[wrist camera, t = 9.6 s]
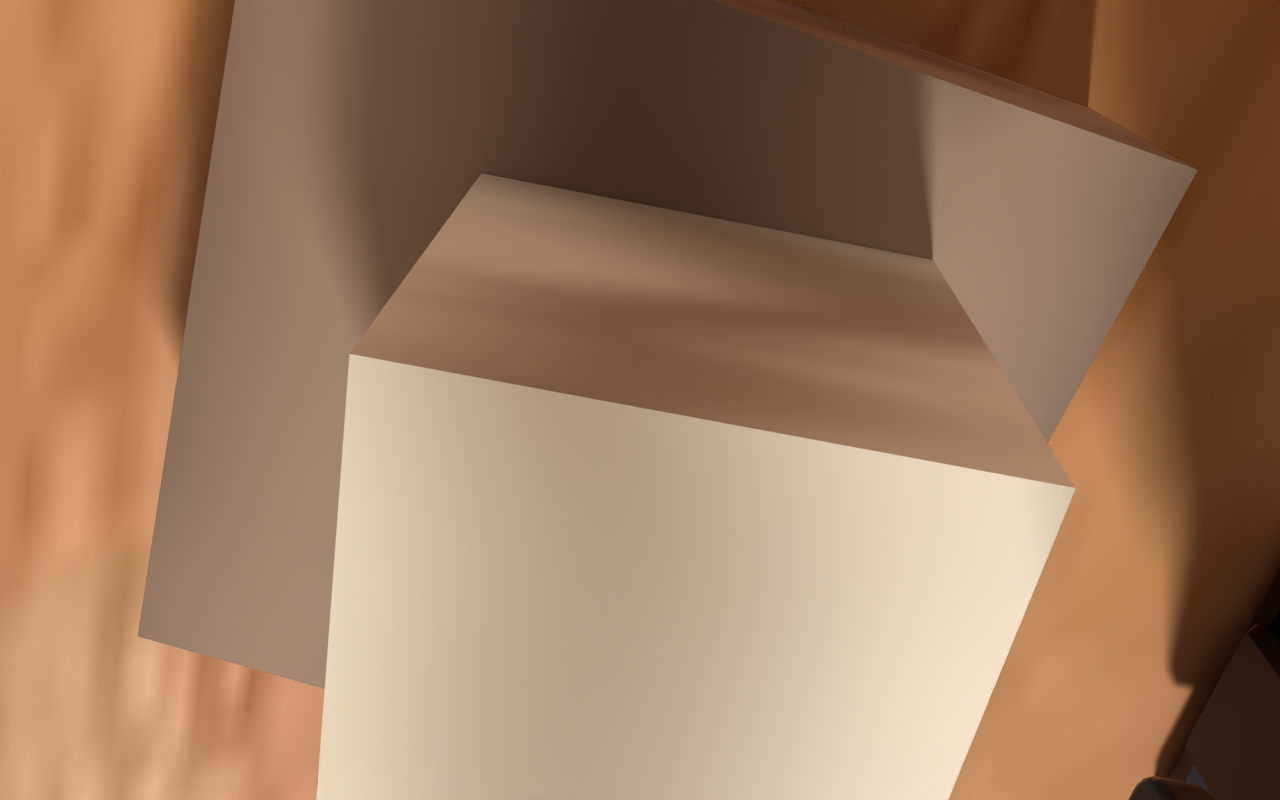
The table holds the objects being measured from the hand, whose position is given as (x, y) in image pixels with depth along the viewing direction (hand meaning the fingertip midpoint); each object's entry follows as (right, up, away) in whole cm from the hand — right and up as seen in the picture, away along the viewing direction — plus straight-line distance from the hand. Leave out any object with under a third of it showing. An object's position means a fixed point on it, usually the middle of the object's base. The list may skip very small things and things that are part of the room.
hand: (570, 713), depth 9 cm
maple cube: (+1, +2, +4) cm, 5 cm away
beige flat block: (0, +4, +8) cm, 9 cm away
